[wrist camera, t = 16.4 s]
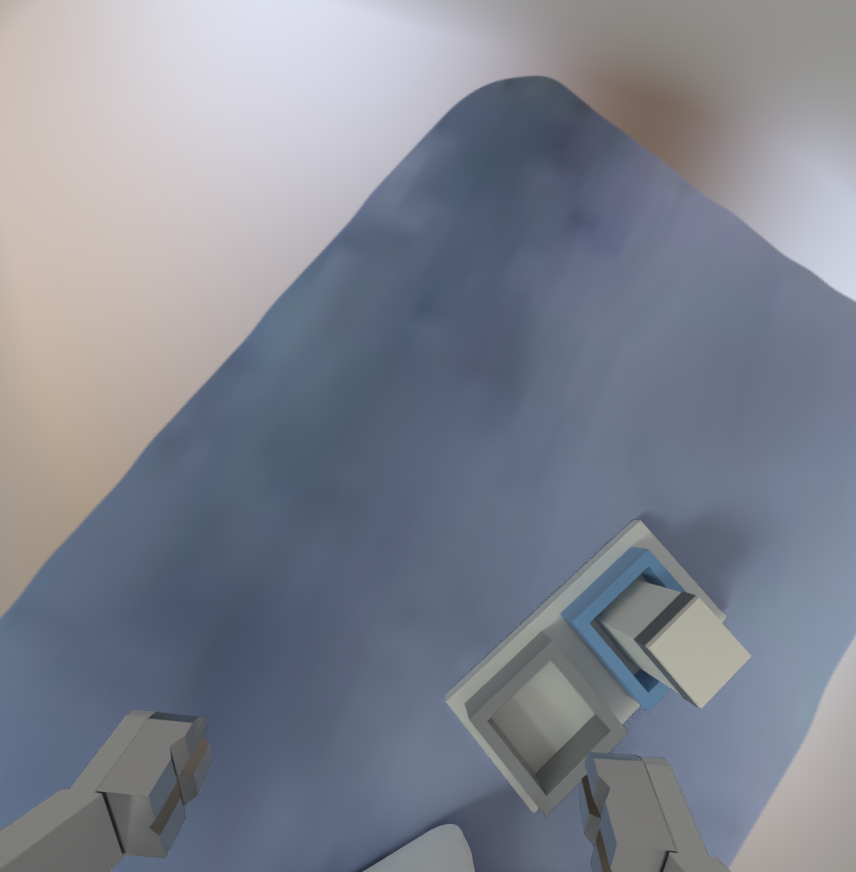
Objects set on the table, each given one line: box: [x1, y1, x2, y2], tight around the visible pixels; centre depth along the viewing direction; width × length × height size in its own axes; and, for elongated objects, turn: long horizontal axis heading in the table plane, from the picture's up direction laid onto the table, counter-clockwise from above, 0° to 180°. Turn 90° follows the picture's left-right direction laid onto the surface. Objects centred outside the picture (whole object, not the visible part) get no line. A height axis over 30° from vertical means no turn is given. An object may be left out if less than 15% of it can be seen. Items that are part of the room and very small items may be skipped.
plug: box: [594, 579, 751, 709], centre depth 28 cm, size 4×4×8 cm
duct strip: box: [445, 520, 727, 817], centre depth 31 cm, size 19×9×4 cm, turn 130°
